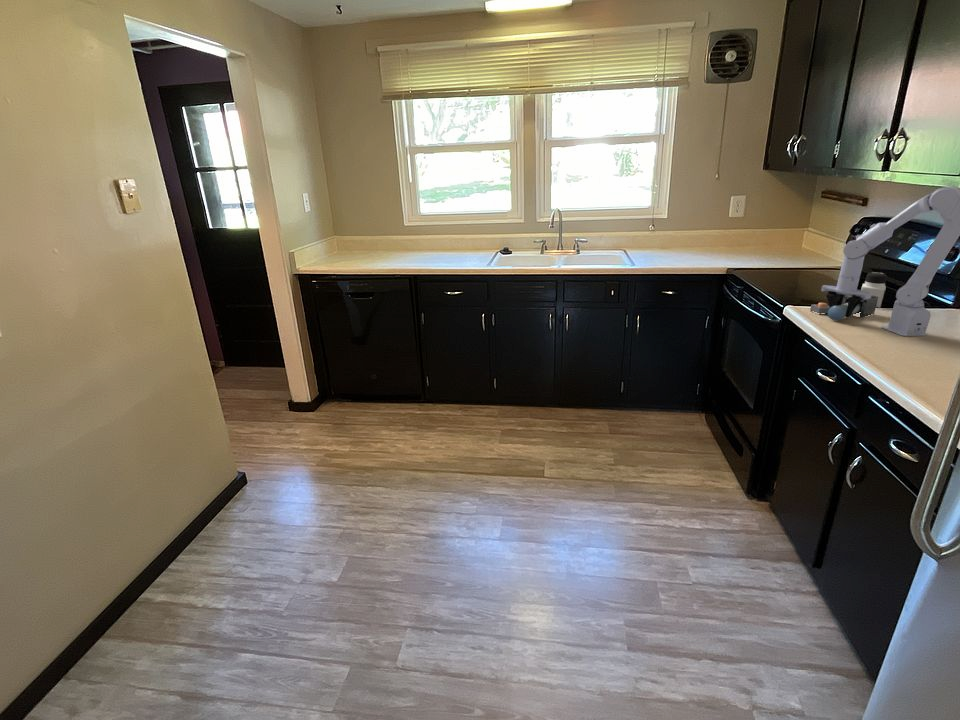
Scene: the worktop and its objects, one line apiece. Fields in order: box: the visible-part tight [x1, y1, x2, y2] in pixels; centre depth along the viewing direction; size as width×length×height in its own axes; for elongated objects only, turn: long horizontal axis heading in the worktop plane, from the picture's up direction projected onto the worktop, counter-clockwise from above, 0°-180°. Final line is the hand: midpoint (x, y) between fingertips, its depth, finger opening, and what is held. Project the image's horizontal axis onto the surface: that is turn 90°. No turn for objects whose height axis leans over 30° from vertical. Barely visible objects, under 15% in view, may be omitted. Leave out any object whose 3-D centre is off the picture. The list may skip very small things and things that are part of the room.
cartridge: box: [827, 302, 863, 321], centre depth 178 cm, size 15×5×5 cm, turn 122°
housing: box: [841, 295, 879, 318], centre depth 182 cm, size 9×7×6 cm
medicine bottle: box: [860, 272, 888, 309], centre depth 192 cm, size 7×7×12 cm
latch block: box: [809, 304, 830, 313], centre depth 185 cm, size 5×5×2 cm
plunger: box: [818, 302, 828, 307], centre depth 185 cm, size 3×3×3 cm
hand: (839, 315), depth 176 cm, fingers closed on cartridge, 4 cm apart
